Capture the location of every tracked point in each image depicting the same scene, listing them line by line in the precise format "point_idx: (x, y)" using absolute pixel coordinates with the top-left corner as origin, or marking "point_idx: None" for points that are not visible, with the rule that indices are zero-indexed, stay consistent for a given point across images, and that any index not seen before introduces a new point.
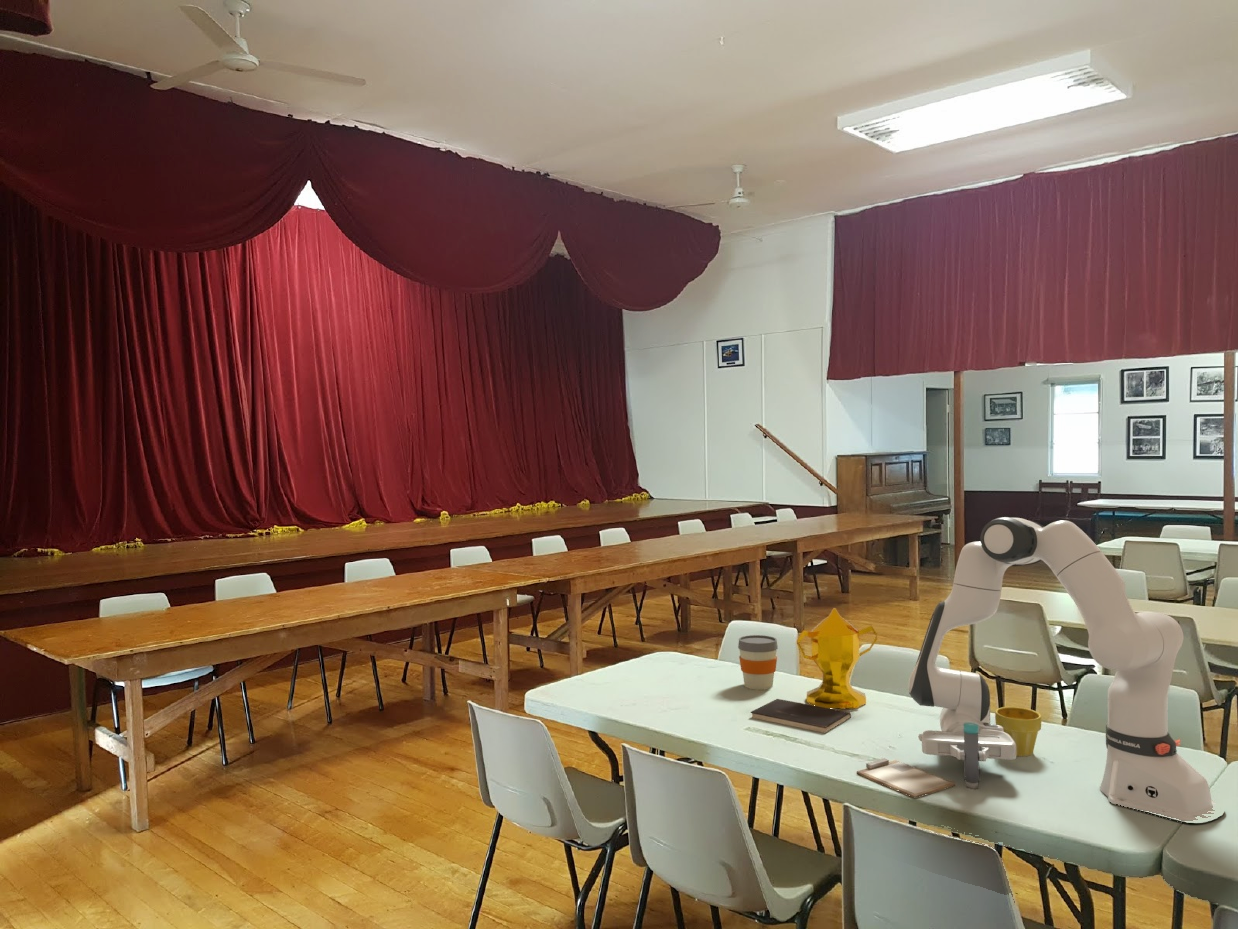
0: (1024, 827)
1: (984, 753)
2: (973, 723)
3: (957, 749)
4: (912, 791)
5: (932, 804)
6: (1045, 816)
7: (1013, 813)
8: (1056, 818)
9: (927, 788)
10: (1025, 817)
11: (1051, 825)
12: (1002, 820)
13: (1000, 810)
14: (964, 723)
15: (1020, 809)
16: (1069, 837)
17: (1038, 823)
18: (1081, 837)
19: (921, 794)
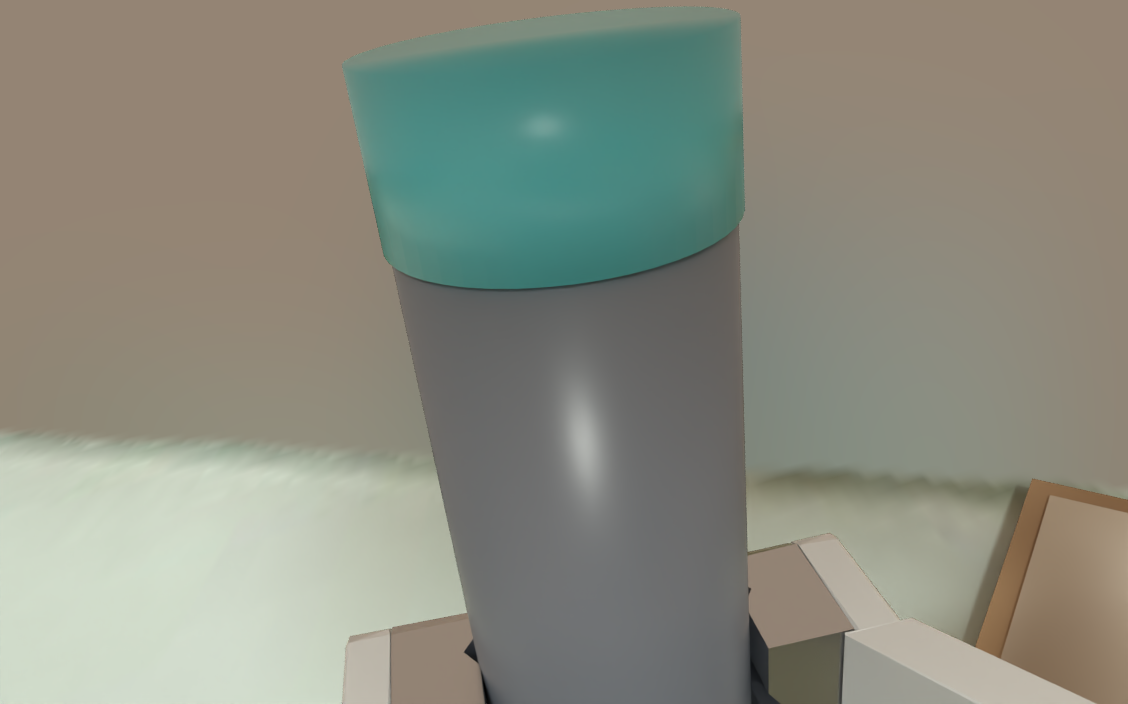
0: (293, 449)
1: (367, 642)
2: (467, 64)
3: (895, 627)
4: (1106, 521)
5: (867, 479)
6: (74, 609)
7: (302, 567)
8: (6, 611)
9: (1045, 619)
10: (236, 547)
11: (111, 517)
12: (402, 468)
13: (388, 573)
14: (726, 17)
15: (221, 644)
16: (88, 448)
17: (184, 511)
18: (18, 467)
19: (1017, 528)
